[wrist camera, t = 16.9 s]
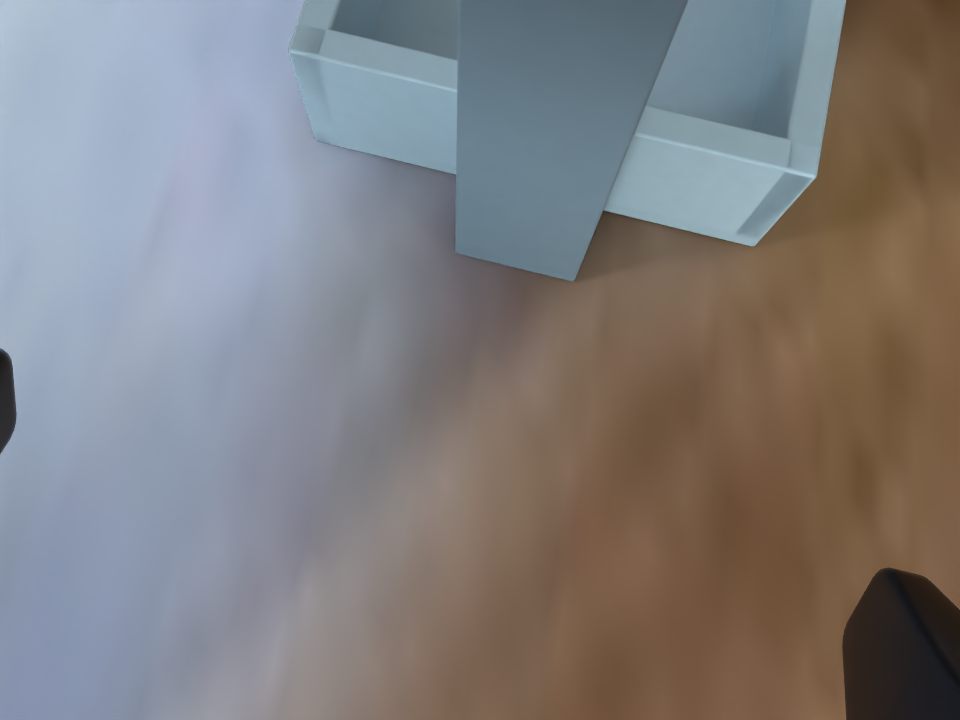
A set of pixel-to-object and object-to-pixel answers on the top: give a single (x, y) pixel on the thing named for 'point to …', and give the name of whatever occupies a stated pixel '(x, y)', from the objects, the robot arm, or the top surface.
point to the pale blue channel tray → (579, 110)
